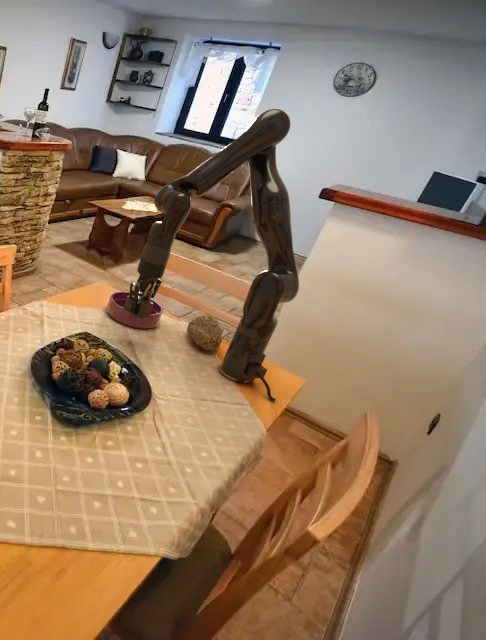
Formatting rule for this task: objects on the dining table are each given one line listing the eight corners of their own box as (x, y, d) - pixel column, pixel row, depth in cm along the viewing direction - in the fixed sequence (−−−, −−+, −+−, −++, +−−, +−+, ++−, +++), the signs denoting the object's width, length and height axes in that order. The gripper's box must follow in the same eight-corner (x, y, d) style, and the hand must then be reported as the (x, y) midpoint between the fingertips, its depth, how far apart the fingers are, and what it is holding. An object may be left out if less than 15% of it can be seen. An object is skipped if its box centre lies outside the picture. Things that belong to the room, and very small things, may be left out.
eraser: (149, 316, 151) (154, 303, 149) (142, 319, 148) (146, 305, 146) (130, 307, 155) (134, 293, 153) (123, 309, 153) (127, 295, 150)
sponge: (191, 328, 178) (174, 332, 162) (204, 310, 175) (187, 312, 159) (223, 350, 173) (208, 356, 156) (237, 331, 170) (223, 336, 153)
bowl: (168, 329, 170) (173, 315, 168) (122, 329, 163) (127, 314, 161) (139, 305, 185) (144, 292, 182) (97, 305, 178) (101, 291, 176)
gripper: (156, 252, 151) (140, 303, 159) (129, 256, 141) (113, 311, 149) (178, 261, 146) (159, 313, 154) (151, 266, 137) (133, 322, 145)
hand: (137, 312), depth 152 cm, fingers closed on eraser, 4 cm apart
